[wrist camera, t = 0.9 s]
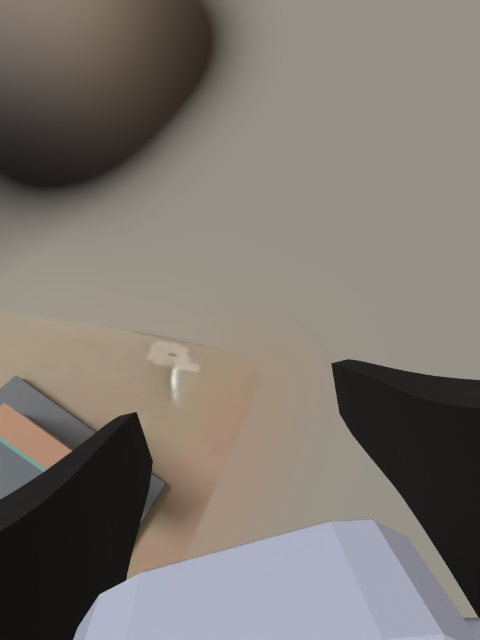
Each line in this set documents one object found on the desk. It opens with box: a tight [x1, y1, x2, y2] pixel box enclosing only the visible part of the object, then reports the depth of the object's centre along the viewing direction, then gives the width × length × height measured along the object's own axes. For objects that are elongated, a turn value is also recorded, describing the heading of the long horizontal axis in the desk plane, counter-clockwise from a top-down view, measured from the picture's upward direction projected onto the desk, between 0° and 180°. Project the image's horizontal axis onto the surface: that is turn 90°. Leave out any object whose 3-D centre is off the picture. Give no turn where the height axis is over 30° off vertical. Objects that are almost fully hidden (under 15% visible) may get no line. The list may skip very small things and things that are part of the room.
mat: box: [0, 376, 166, 523], centre depth 20 cm, size 12×14×1 cm
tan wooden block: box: [0, 403, 73, 472], centre depth 20 cm, size 2×9×5 cm, turn 58°
